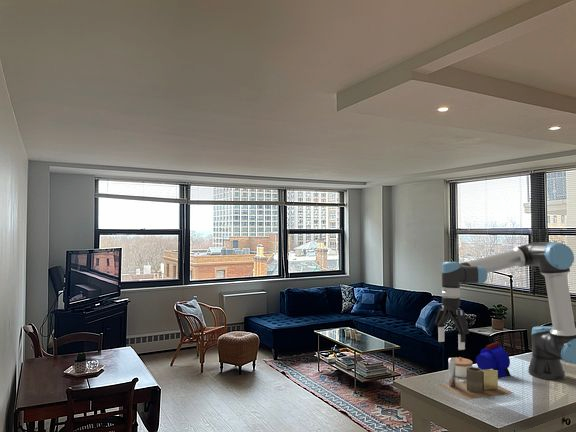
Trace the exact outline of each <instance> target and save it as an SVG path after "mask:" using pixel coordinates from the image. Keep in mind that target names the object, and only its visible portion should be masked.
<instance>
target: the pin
mask: <svg viewBox="0 0 576 432" xmlns="http://www.w3.org/2000/svg"><path fill="white" fill-rule="evenodd" d="M455 358H456V357H448V360H449V361H448V383H449V387H456V382H457V381H456V379H457V376H455Z"/></svg>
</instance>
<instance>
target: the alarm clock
mask: <svg viewBox="0 0 576 432" xmlns="http://www.w3.org/2000/svg"><path fill="white" fill-rule="evenodd" d="M475 363H476V366H477V368H480V369H482V370H488V369H494V370H498V379H502V378H503V377H504V378H510V377H512V375H511V372H510V370H509V368H510V365H511V359H510V356H509V354H508V352H507V351H506V350H505V348H504V347H502V346H501V345H500V342H498V341H496V342H493V343H490V344H487V345H486V346H485V347H484V348H482V349H481V350H480V352H479V354H477V356H476V357H475Z"/></svg>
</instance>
